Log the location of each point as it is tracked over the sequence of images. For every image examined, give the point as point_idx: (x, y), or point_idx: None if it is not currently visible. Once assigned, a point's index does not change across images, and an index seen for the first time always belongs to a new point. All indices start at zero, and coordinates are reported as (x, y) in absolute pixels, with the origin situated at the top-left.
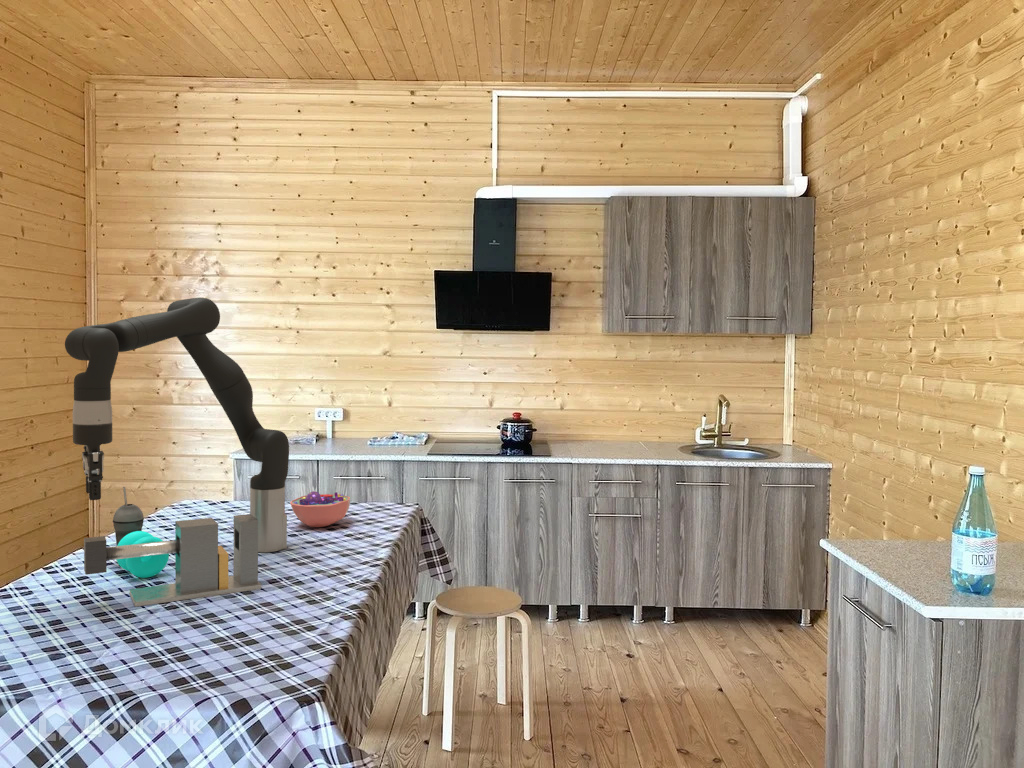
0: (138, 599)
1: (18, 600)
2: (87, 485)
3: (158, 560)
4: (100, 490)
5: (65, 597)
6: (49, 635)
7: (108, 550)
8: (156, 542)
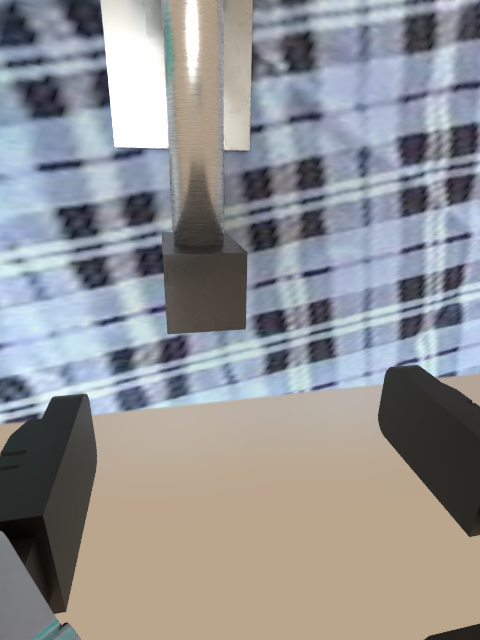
0: (230, 137)
1: None
2: (83, 506)
3: None
4: (459, 399)
5: (85, 307)
6: (342, 331)
7: (218, 234)
8: (198, 5)
